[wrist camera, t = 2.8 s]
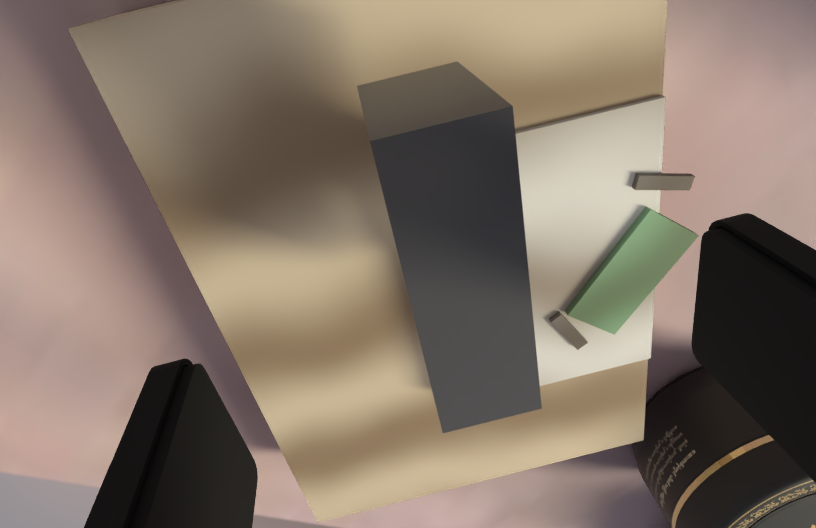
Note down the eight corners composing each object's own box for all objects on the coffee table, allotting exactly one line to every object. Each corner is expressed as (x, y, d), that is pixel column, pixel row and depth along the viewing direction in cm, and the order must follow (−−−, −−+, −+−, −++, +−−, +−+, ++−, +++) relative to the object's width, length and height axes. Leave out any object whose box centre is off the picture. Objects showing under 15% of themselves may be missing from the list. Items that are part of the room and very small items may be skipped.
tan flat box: (120, 13, 17) (59, 31, 13) (644, -113, 17) (737, -132, 13) (318, 453, 28) (317, 532, 24) (629, 375, 28) (676, 441, 25)
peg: (351, 65, 14) (369, 141, 9) (436, 44, 14) (512, 105, 9) (435, 401, 21) (477, 571, 15) (492, 387, 21) (555, 551, 16)
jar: (815, 351, 30) (954, 463, 23) (739, 469, 34) (835, 589, 28) (656, 350, 28) (757, 471, 21) (599, 475, 33) (668, 604, 26)
